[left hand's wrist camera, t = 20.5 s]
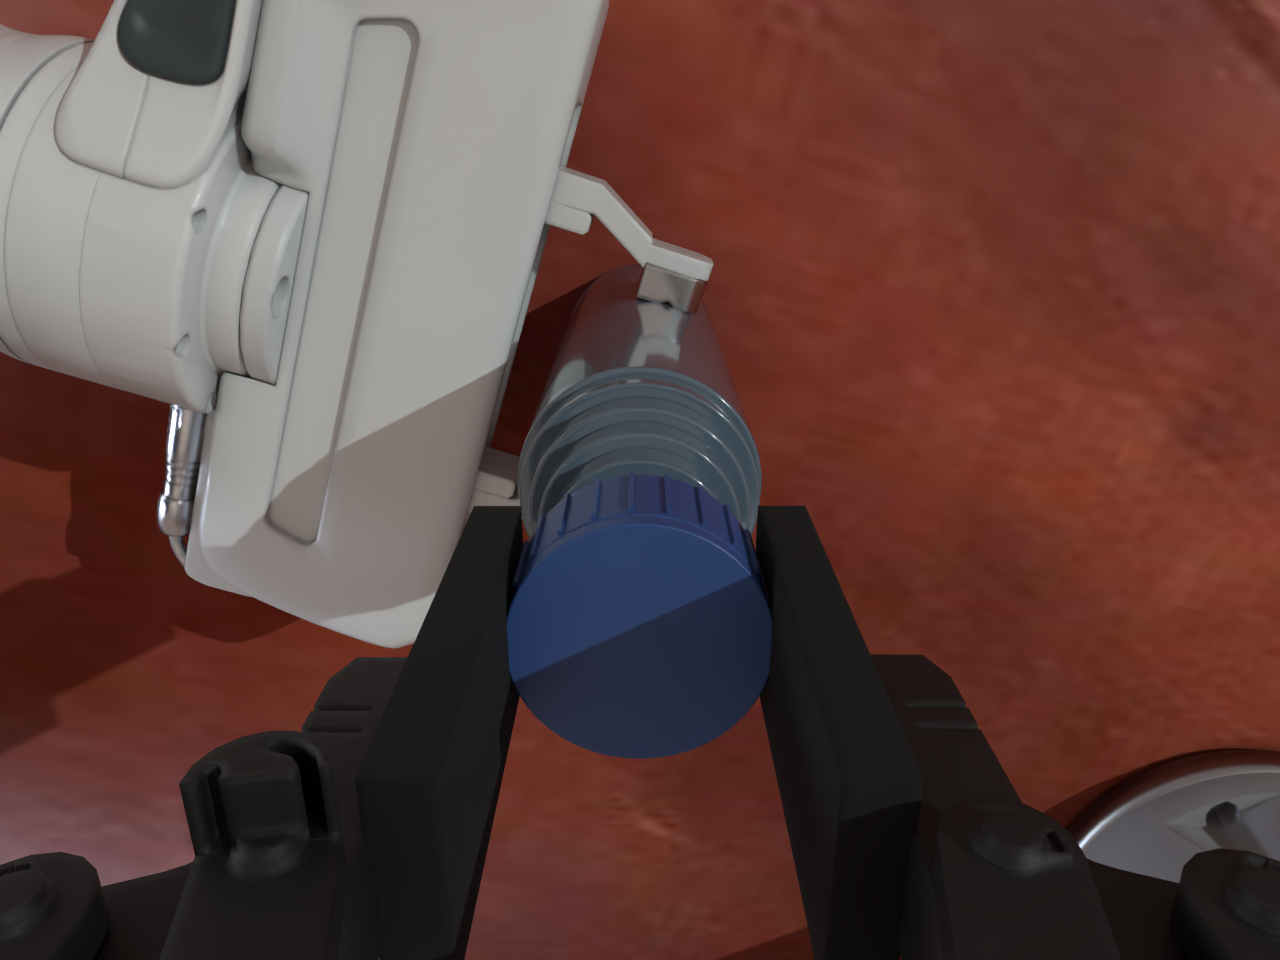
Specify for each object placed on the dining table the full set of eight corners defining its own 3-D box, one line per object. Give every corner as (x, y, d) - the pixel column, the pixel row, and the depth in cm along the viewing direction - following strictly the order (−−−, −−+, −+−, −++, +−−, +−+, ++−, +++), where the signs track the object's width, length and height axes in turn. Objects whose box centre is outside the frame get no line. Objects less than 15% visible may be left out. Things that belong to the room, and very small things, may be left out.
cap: (621, 728, 16) (619, 806, 14) (465, 567, 15) (440, 628, 13) (810, 601, 15) (834, 667, 13) (659, 419, 14) (662, 464, 12)
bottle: (716, 397, 33) (816, 747, 14) (578, 412, 33) (500, 776, 15) (704, 256, 31) (801, 446, 13) (559, 272, 32) (440, 484, 13)
